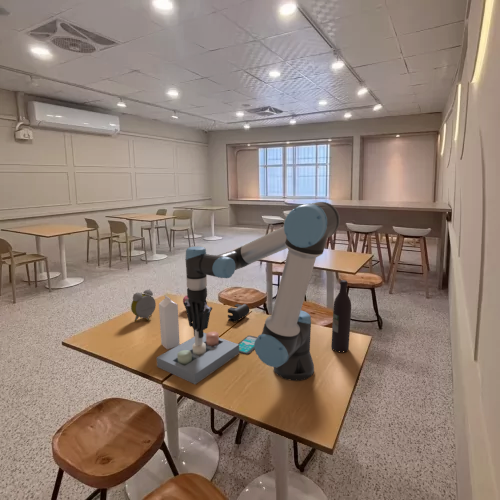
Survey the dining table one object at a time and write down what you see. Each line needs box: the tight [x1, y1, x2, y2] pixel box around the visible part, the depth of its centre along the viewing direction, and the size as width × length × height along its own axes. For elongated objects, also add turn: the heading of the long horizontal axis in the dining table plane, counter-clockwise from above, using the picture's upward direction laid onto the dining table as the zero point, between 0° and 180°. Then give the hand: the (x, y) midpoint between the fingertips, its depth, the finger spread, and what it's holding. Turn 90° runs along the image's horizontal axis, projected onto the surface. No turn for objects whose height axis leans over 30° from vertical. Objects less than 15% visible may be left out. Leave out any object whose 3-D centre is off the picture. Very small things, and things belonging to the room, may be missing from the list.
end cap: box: [227, 303, 250, 323], centre depth 173 cm, size 10×7×7 cm
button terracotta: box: [206, 331, 220, 346], centre depth 139 cm, size 5×5×4 cm
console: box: [156, 331, 240, 385], centre depth 134 cm, size 20×26×4 cm
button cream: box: [192, 342, 206, 356], centre depth 133 cm, size 5×5×4 cm
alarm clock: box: [130, 288, 157, 322], centre depth 171 cm, size 12×7×15 cm, turn 141°
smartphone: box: [237, 335, 258, 356], centre depth 146 cm, size 9×1×15 cm
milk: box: [158, 295, 181, 350], centre depth 144 cm, size 6×6×22 cm
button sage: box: [177, 350, 192, 366], centre depth 127 cm, size 5×5×4 cm
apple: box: [182, 295, 189, 305], centre depth 184 cm, size 10×9×10 cm
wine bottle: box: [330, 279, 352, 353], centre depth 139 cm, size 7×7×30 cm
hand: (198, 344), depth 133 cm, fingers closed
